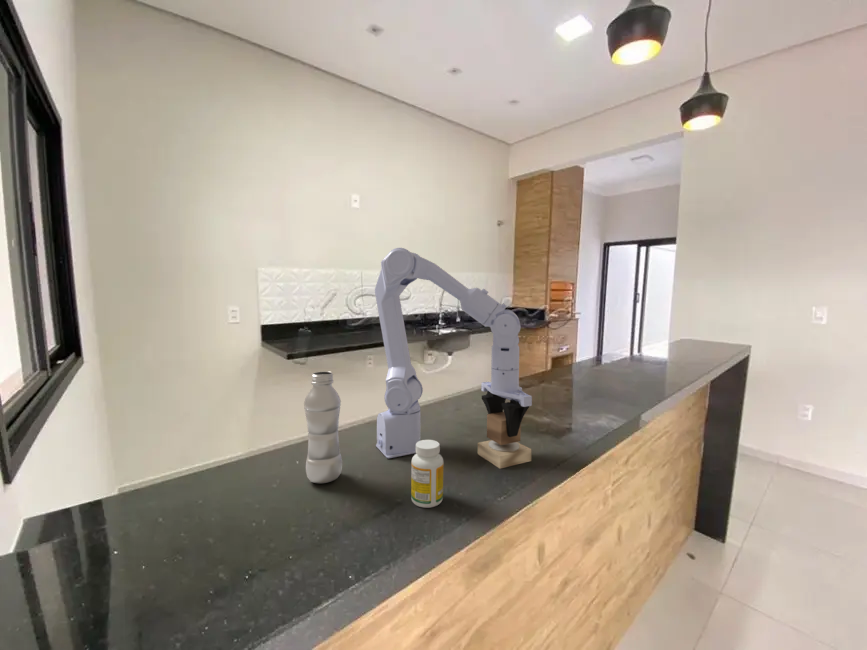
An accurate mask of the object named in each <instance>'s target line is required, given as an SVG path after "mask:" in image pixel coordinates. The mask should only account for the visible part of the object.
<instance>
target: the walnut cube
mask: <svg viewBox="0 0 867 650" xmlns="http://www.w3.org/2000/svg"><path fill="white" fill-rule="evenodd" d="M521 430H522V423H521V424H520V427H519V431H518V435H517V436H513V437H509V436H508V435H507V429H506V417H505V413H504V411H503V412H499V413H492V414H488V413H487V415H486V438H488V439H489V440H493V441H495V442H496V443H498V444H500V445H504V444H509V443H514V442H518V443H520V442H521V435H522V434H521V432H522V431H521Z"/></svg>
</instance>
